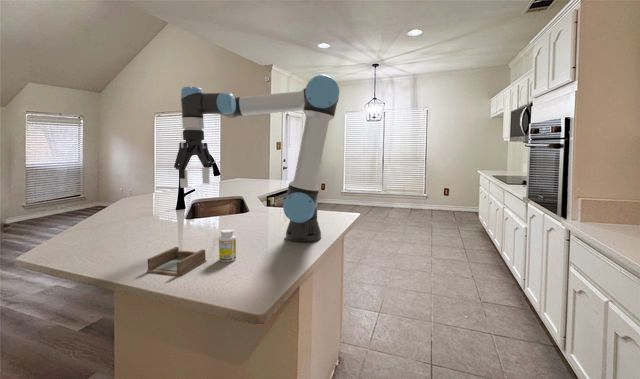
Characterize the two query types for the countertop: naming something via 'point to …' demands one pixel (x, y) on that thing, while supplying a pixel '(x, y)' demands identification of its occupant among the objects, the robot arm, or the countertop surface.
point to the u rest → (176, 261)
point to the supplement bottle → (227, 246)
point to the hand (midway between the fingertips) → (195, 185)
